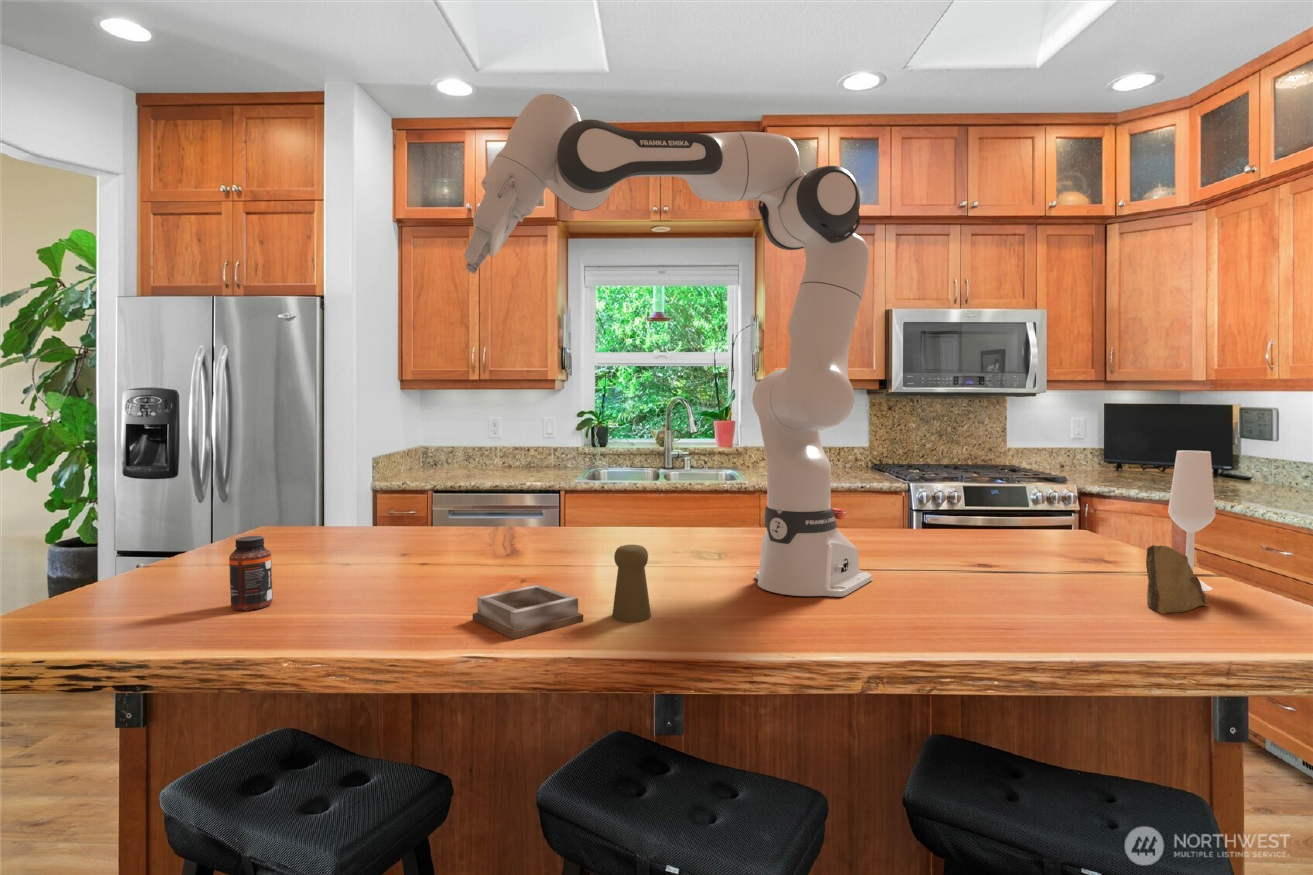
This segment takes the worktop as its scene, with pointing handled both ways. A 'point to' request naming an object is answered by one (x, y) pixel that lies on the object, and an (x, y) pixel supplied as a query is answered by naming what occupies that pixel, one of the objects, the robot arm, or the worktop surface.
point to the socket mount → (527, 611)
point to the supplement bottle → (250, 574)
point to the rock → (1171, 582)
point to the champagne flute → (1192, 497)
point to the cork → (631, 585)
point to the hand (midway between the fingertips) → (469, 266)
